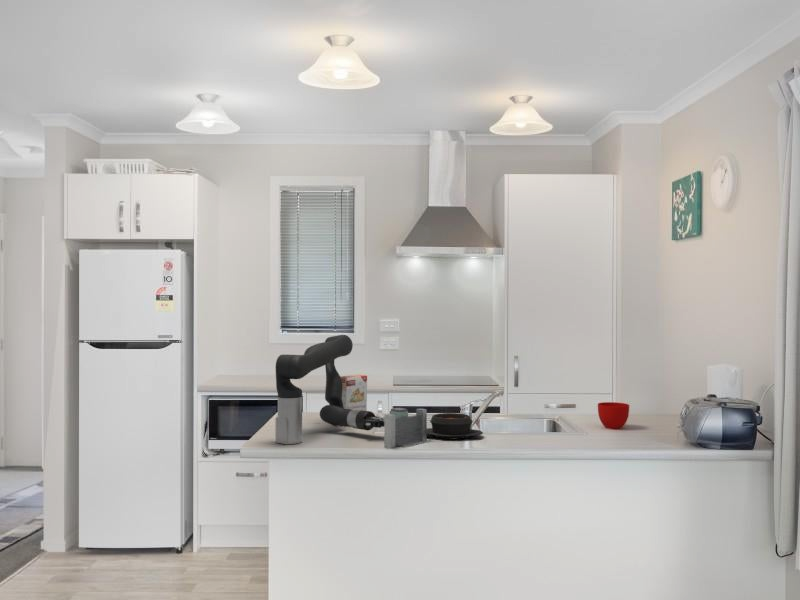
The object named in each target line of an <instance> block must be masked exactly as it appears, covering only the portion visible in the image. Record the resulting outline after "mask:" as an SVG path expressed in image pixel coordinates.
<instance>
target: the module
mask: <svg viewBox="0 0 800 600" xmlns="http://www.w3.org/2000/svg"><path fill="white" fill-rule="evenodd" d="M389 414H393V415H395V419H396V418H401V417H407V416H409V411H408V409H407V408H402V407H394V408H390V410H389Z"/></svg>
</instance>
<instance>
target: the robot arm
mask: <svg viewBox="0 0 800 600" xmlns="http://www.w3.org/2000/svg"><path fill="white" fill-rule="evenodd" d="M352 350H353V340H352V339H351V337H350V336H349V335H346V334H338V335H333V336H329V337H327V338H326V339H325V340H324V342H319V343H316V344H313V345H311V346H309V347H307V348H306V350H305V351H304V353H303V354H279V356H277V359H276V362H275V385H276V391H277V392H276V393H277V416H276V417H275V440H274V441H275V443H276V444H277V443H278V444H282V445H295V444H300V443H302V442H303V390H302V388H300V387H298V386H296V385H295V384H294V383H292V382H291V380H300V379H302V378H304V377H306V376H307V375H308V374H309V373H311V372H312V371H315V370H317V369H319V368H321V367H324V366H325V390H324V391H325V393H324V399H325V401H326V402H327V403H328V404H325V405H324V406H323V407H321V408H320V410H319V417H320V419H321V420H322V421H323V422H325V423H328V424H330V425H331V426H334V427H337V426H343V427H347V428H353V429H356V430H362V431H363V430H364V431H371V430H373V428H376V429H377V428H384V417H381V416H378V415H375V413H374V412H373V411H371V410H370V411H369V410H367V411H364V410H352V409H344V407H343V401H342V387H343V384H342V379H341V377H342V376H341V375H340V374H339V372H338V370H337V369H336V365H335V360H336V359H338V358H340V357H341V358H342V357H346V356H348V355H350V354H351V352H352ZM340 424H341V425H340Z"/></svg>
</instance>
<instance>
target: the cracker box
mask: <svg viewBox="0 0 800 600" xmlns="http://www.w3.org/2000/svg"><path fill="white" fill-rule="evenodd" d="M340 377H341V379H342V384H343V387H342V401H343V407H344V409H352V410H364V411H368V410H367V409H368V408H367V404H368V403H367V402H368V399H367V398H368V375H366V374H353V375H344V376H342V375H341V376H340ZM339 426H342V425H341V424H340V425H339Z"/></svg>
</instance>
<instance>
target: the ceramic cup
mask: <svg viewBox="0 0 800 600" xmlns="http://www.w3.org/2000/svg"><path fill="white" fill-rule="evenodd" d="M597 413H598V419H599V420H600V422H601V424H602V425H603V427H606V428H605V429H608V428H611V429H610V430H620V429H619V428H621V429H622V428H623V427H624V426H625V424H626V423H627V422H628V419H629V415H630V414H629V413H630V405H629V404H628V403H624V402H616V401H615V402H614V401H613V402H612V401H608V402H607V401H605V402H599V403H597Z"/></svg>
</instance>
